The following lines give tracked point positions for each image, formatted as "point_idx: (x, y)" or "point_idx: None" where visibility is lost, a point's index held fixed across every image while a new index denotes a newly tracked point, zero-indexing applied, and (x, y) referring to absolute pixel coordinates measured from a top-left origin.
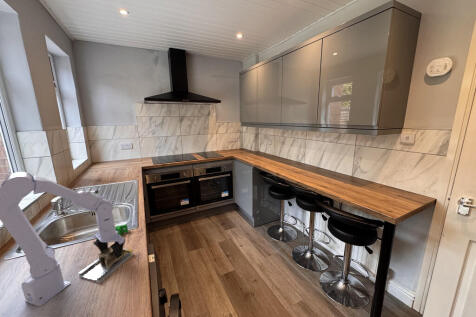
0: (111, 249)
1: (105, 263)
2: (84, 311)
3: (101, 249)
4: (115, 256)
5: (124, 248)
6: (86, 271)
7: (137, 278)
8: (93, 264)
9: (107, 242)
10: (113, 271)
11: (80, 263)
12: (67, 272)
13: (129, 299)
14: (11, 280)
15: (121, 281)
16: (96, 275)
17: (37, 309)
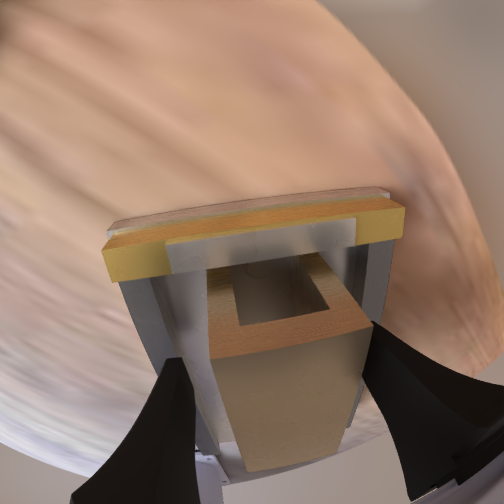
0: (309, 422)
1: None
2: (379, 434)
3: (193, 455)
4: (364, 378)
5: (307, 234)
6: (213, 431)
7: (481, 310)
8: (203, 419)
9: (165, 453)
10: None
11: (72, 391)
12: (105, 430)
13: (477, 359)
14: (23, 450)
15: (431, 353)
16: None
17: (232, 481)
